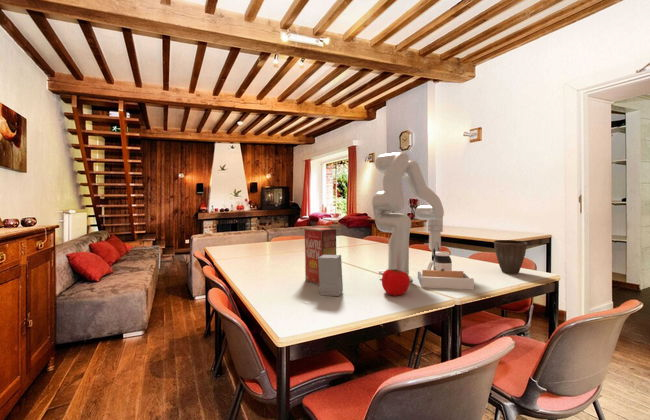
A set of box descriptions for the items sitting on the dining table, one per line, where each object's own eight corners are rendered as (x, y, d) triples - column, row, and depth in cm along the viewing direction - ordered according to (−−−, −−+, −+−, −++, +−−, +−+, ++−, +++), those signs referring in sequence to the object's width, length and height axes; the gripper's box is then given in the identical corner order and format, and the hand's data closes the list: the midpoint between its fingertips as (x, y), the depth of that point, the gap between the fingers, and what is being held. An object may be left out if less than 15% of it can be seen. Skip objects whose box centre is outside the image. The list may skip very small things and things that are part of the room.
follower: (422, 280, 151) (422, 268, 150) (422, 279, 152) (422, 267, 152) (463, 282, 147) (463, 270, 147) (462, 281, 149) (462, 269, 149)
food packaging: (304, 280, 153) (303, 228, 152) (318, 277, 159) (318, 226, 158) (322, 286, 143) (322, 230, 142) (337, 282, 149) (337, 228, 149)
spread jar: (453, 277, 156) (454, 254, 156) (430, 277, 157) (430, 254, 156) (445, 272, 168) (445, 250, 168) (423, 272, 169) (423, 250, 168)
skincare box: (343, 292, 133) (342, 254, 133) (338, 297, 126) (337, 257, 126) (323, 290, 136) (323, 253, 135) (317, 295, 129) (317, 256, 129)
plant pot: (499, 275, 160) (499, 243, 160) (489, 268, 175) (489, 239, 174) (532, 276, 158) (532, 244, 157) (519, 269, 172) (519, 240, 172)
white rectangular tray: (421, 287, 140) (421, 277, 140) (417, 277, 157) (417, 268, 156) (473, 289, 136) (474, 279, 136) (464, 279, 153) (464, 270, 152)
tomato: (378, 296, 127) (378, 270, 127) (384, 288, 139) (384, 264, 139) (407, 299, 123) (407, 273, 123) (411, 290, 135) (411, 266, 135)
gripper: (426, 227, 180) (426, 259, 180) (429, 229, 165) (429, 265, 166) (440, 227, 178) (440, 260, 179) (445, 230, 164) (444, 265, 164)
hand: (435, 262), depth 172 cm, fingers closed
